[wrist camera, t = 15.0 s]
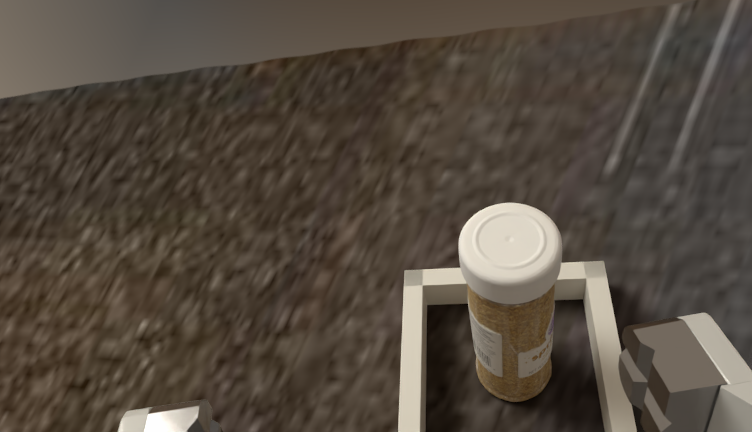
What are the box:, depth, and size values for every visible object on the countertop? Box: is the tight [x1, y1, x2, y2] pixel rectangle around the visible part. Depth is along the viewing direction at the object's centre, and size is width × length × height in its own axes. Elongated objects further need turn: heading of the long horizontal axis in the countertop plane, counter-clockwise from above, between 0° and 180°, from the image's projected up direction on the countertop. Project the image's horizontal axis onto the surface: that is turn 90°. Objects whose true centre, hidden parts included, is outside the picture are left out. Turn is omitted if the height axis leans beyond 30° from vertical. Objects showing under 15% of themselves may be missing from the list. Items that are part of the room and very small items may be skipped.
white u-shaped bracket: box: [398, 261, 637, 432], centre depth 37 cm, size 11×12×2 cm
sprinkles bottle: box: [459, 203, 562, 402], centre depth 33 cm, size 5×5×13 cm
